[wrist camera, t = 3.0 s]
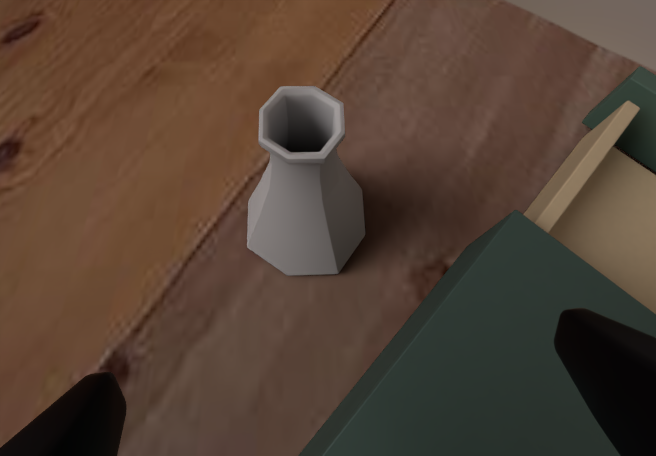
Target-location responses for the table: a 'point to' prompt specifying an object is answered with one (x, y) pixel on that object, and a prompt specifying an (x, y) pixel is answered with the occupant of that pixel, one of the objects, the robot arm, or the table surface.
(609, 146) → the drawer
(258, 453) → the table surface
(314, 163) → the flask
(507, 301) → the cabinet
